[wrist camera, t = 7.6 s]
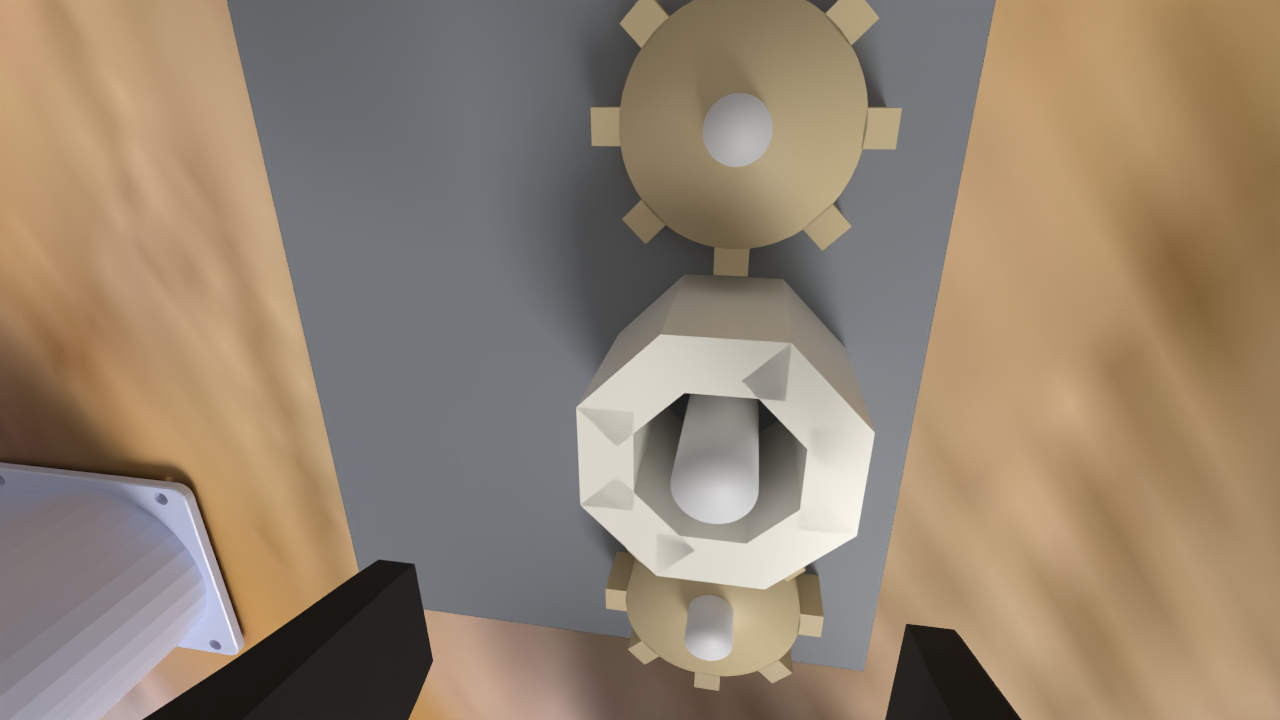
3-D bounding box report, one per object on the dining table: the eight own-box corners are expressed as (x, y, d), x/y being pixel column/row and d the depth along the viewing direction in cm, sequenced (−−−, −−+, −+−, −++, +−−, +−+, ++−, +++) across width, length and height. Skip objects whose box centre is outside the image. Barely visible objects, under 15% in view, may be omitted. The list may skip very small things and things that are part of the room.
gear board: (389, 570, 22) (269, 725, 17) (269, -14, 15) (-9, -76, 10) (856, 631, 20) (894, 838, 14) (978, -38, 12) (1151, -141, 7)
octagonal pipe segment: (620, 464, 17) (582, 566, 13) (618, 270, 15) (572, 328, 11) (826, 485, 16) (845, 600, 12) (855, 282, 14) (889, 349, 10)
